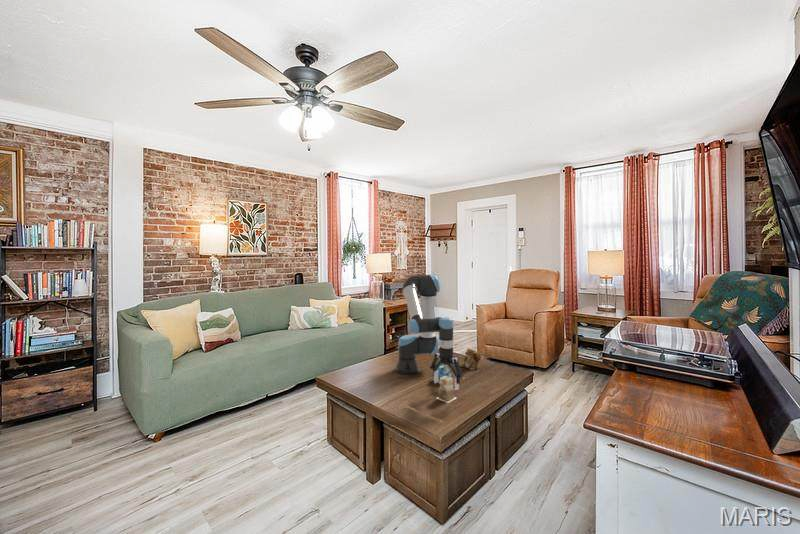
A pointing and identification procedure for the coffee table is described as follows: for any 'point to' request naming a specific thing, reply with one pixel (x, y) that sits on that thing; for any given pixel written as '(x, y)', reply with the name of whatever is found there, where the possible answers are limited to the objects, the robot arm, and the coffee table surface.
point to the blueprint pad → (446, 401)
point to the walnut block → (446, 395)
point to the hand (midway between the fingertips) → (446, 385)
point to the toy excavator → (442, 372)
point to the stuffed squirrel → (471, 359)
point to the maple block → (446, 383)
